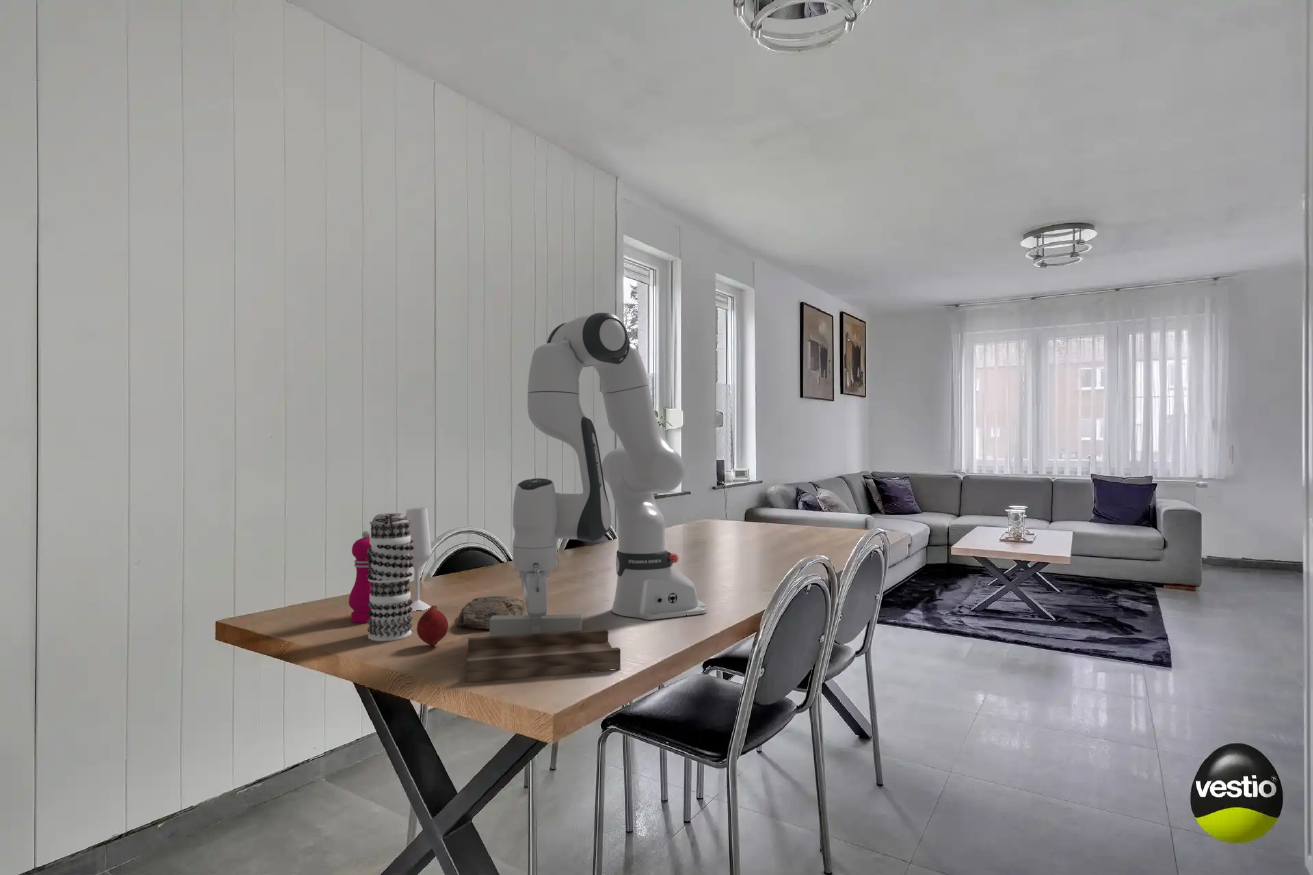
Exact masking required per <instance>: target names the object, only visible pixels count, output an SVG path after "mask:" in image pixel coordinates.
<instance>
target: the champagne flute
mask: <svg viewBox="0 0 1313 875" xmlns="http://www.w3.org/2000/svg"><path fill="white" fill-rule="evenodd" d="M405 512H406V513H405V516H406V517H407V519H408V520H409V521H411V522H410V535H411V540H413V541H414V542H412V543H409V545H412V546H413V547H414V549H413V550H410V551H409V555H411V556H413V559H411V560H410V561H409V562H411V563H412V564H413V566H412V567H411V568H413V570H414V572H413V574H414V575H413V577H414V578H413V581H414V582H413V584H414V585H413V586H414V587H413V589H414V590H413V593H414V594H413V595H414V597H413V598H414V599H413V600H412V603H411V605H409V606H410V607H411V608H412V611H411V612H417V611H416V610H422V611H427V610H429V609H428V608H430V607H431V606H432V605H429V604H427V603H426V602H424V601H422V600H421V599H420V568H421V567H423V566H424V565H425V564H426V563H427V562H428V561H429V559H430V558H431V556H432V545H431V544H432V543H431V534H430V533H431V532H430V524H429V512H428V507H422V506H421V507H407V508H406V510H405ZM426 609H427V610H426Z"/></svg>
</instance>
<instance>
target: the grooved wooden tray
mask: <svg viewBox="0 0 1313 875" xmlns="http://www.w3.org/2000/svg"><path fill="white" fill-rule="evenodd" d="M467 641H468V642H467V644H468V651H467V652H468V653H467V658H466V683H472V682H473V683H474V682H484V681H495V680H496V681H497V680H511V679H520V678H521V679H522V678H523V679H524V678H534V677H547V676H560V675H573V674H584V673H585V672H586V673H592V672H591V671H598V672H605V671H604V670H610V669H620V670H621V648H620V647H619V646H618V647H612V645H611V644H610V642H609V630H608V628H603V629H602V628H601V629H600V628H599V629H588V630H587V629H585V630H582V631H569V632H554V633H538V634H523V635H508V636H493V637H490V636H482V637H469V638H468V640H467ZM586 673H585V674H586Z"/></svg>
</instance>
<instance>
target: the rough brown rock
mask: <svg viewBox="0 0 1313 875" xmlns="http://www.w3.org/2000/svg"><path fill="white" fill-rule="evenodd" d="M525 610H526V603H525V599H521V598H518V597H517V598H516V597H515V596H509V595H508V596H505V595H501V596H499V595H498V596H497V595H494V596H482V597H477V598H473V599H472V601H469V602H467V603H466V605H465V606H463V607H462V608H461V611H460V612H459V615H457V616H458V617H457V619H456V620H455V621H456V622H455V623H456V626H458V627H461V628H465V627H467V629H477V630H478V629H485V630H490V618H491V617H492V616H506V615H523V613H525Z"/></svg>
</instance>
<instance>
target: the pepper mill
mask: <svg viewBox="0 0 1313 875" xmlns="http://www.w3.org/2000/svg"><path fill="white" fill-rule="evenodd" d="M370 537H371V531H368V530H364V531H363V532H362V534H361V538H359V539H356V541H355V542H354V543H353V544H352V547H351V554H352V556H353V557H354V558H355V560H354V561H353V562H354V565H353V566H354V567H355V571H356V574H355V576H356V577H355V581H354V585H353V586H352V589H351V591H350V593H349V597H348V605H349V607H350V608H351V609H352V610H353V611H352V612H351V614H350V621H351V622H352V623H355V624H368V623H367V621H368V620H369V619H370V617H371V616H369V614H368V611H369V610H370V608H369V607H368V604H369V603H370V594H371V582H370V581H368V578H367V575H369V571H368V570H367V568H368V566H369V565H371V563H369V562H368V561H367V560H366V558H367V557H368V556H369V555H368V553H367V552H366V551H367V549H368V548H370V547H371V545H370Z"/></svg>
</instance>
